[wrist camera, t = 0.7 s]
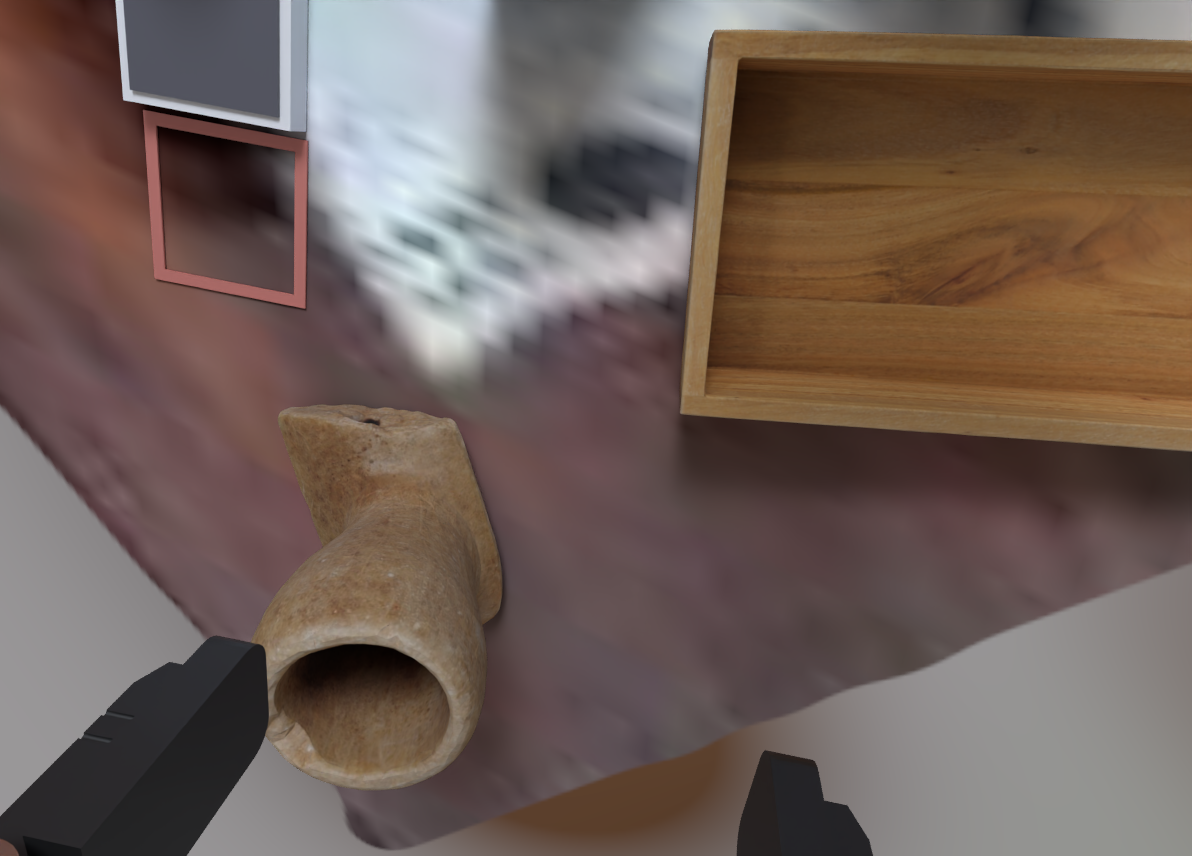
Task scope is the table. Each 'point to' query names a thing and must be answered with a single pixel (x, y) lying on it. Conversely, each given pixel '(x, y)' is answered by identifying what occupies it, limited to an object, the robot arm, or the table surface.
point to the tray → (945, 235)
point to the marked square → (243, 136)
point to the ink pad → (217, 58)
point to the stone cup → (381, 600)
